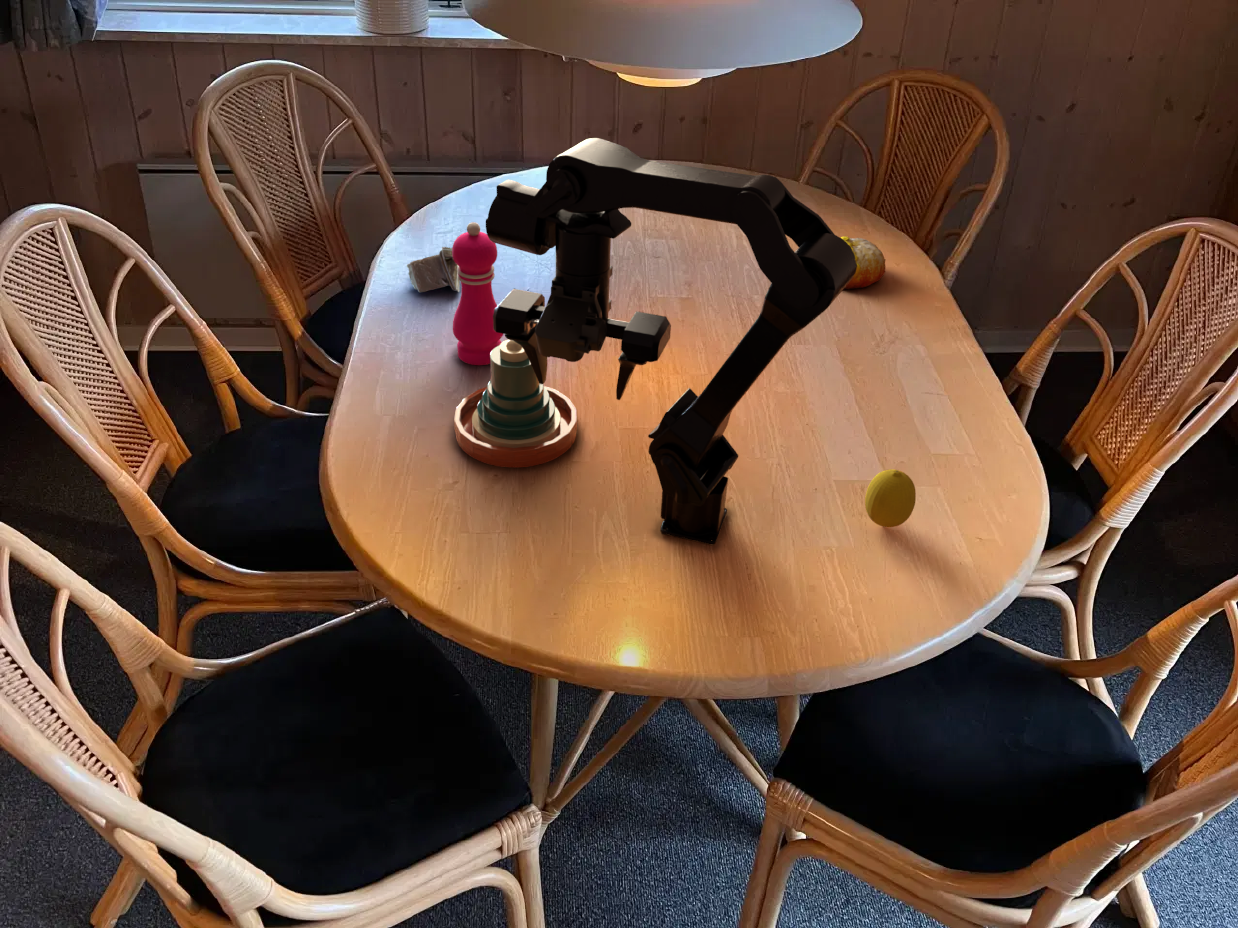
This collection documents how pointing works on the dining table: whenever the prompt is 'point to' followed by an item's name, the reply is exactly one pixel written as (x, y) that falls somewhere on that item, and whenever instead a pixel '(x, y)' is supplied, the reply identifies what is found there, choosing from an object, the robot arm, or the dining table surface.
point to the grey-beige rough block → (434, 272)
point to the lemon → (890, 498)
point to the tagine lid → (514, 403)
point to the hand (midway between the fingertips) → (580, 390)
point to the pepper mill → (475, 296)
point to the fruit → (865, 262)
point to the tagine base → (521, 454)
